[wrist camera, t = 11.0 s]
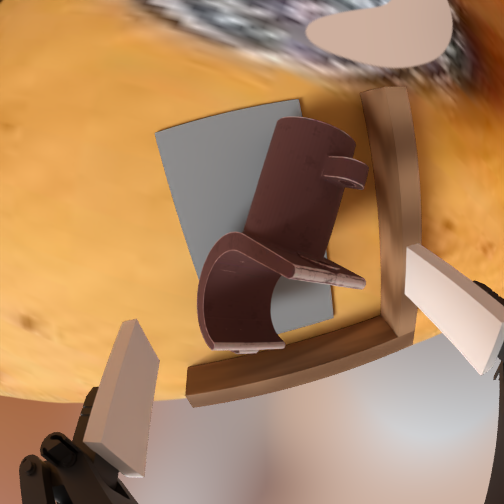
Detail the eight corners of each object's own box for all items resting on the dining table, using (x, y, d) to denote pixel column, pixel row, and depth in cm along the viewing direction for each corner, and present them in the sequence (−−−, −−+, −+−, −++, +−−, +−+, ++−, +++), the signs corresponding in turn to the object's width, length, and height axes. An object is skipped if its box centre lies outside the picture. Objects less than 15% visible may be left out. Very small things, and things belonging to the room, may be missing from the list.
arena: (103, 152, 19) (81, 156, 16) (379, 91, 20) (406, 86, 16) (194, 379, 29) (192, 407, 25) (395, 323, 29) (412, 344, 25)
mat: (155, 133, 20) (154, 133, 19) (297, 99, 20) (298, 98, 19) (223, 345, 27) (223, 347, 27) (332, 316, 27) (333, 318, 27)
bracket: (182, 332, 22) (243, 415, 14) (242, 123, 20) (343, 105, 12) (244, 334, 26) (316, 399, 18) (300, 151, 24) (401, 156, 16)
